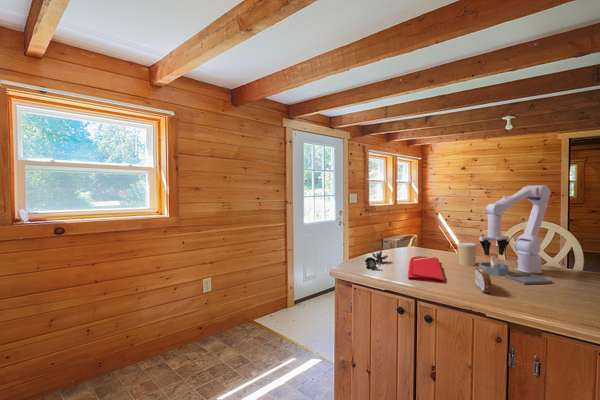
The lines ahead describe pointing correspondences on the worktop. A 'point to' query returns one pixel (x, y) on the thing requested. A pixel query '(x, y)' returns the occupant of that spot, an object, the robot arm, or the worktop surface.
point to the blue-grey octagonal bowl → (497, 271)
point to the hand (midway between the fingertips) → (493, 255)
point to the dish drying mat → (425, 269)
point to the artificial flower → (372, 262)
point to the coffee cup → (467, 253)
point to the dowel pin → (493, 262)
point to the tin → (483, 280)
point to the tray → (528, 279)
